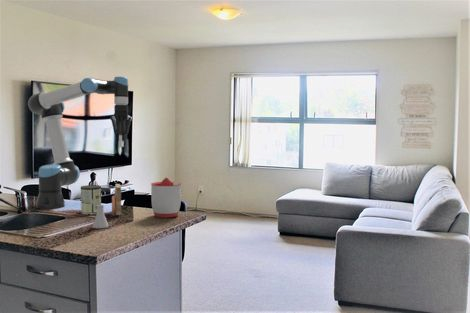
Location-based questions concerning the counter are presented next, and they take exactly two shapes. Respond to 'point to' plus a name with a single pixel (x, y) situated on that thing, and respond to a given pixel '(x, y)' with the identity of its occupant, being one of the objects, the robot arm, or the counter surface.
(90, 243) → the counter surface
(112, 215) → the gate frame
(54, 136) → the robot arm
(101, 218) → the flask
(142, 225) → the counter surface
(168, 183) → the citrus juicer
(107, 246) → the counter surface
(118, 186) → the brown beige flat square
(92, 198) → the coffee can
